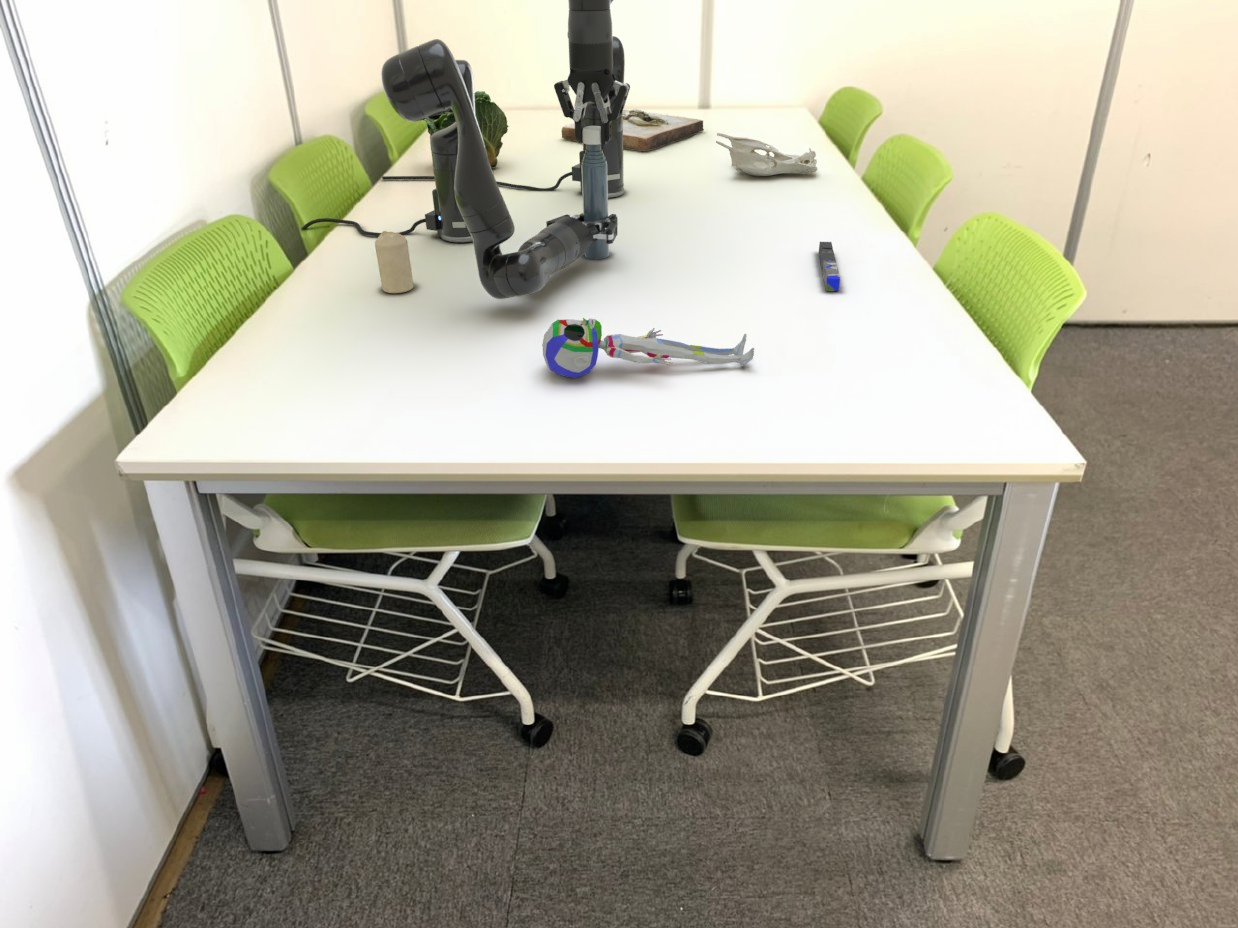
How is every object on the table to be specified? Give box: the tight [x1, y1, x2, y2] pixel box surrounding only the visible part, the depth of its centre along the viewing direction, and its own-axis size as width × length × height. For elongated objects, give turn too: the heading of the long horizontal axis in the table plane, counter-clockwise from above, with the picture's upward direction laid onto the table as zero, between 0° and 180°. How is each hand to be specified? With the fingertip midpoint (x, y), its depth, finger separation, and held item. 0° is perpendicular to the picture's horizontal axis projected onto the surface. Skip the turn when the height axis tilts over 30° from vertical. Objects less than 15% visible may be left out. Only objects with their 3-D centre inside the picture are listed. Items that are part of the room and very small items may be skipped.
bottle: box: [581, 144, 610, 260], centre depth 167 cm, size 5×5×23 cm
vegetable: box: [423, 90, 510, 169], centre depth 225 cm, size 20×19×20 cm
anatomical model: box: [715, 132, 818, 177], centre depth 219 cm, size 15×9×25 cm
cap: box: [582, 126, 601, 145], centre depth 161 cm, size 4×4×2 cm
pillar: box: [818, 241, 841, 292], centre depth 163 cm, size 2×2×20 cm
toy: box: [541, 317, 755, 379], centre depth 130 cm, size 10×8×30 cm
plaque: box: [561, 108, 705, 152], centre depth 257 cm, size 30×7×30 cm
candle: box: [374, 230, 414, 294], centre depth 157 cm, size 6×6×10 cm
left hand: (601, 217), depth 172 cm, fingers closed on bottle, 4 cm apart
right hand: (593, 142), depth 162 cm, fingers closed on cap, 3 cm apart
